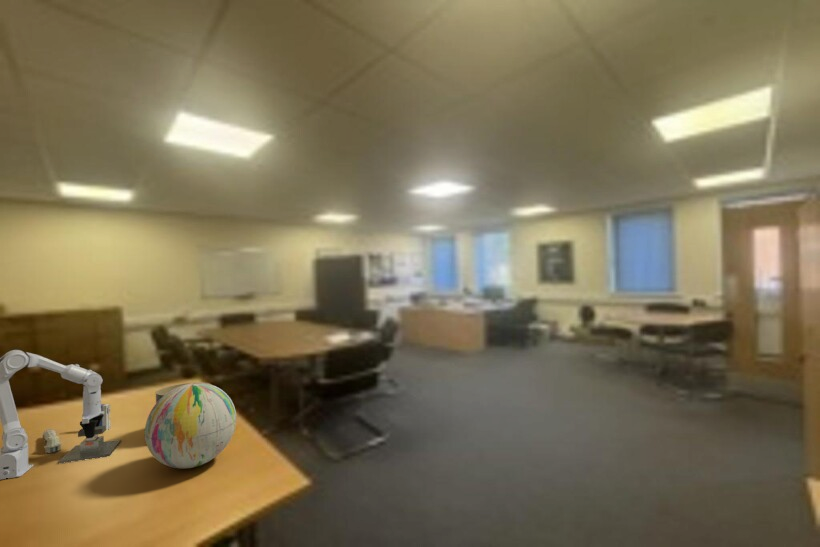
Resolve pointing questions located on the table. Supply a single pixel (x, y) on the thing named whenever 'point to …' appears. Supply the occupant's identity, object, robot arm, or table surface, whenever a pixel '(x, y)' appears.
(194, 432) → the globe
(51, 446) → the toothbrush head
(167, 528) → the table surface
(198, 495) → the table surface
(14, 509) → the table surface
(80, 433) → the jack column
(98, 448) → the jack base
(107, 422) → the walkman
